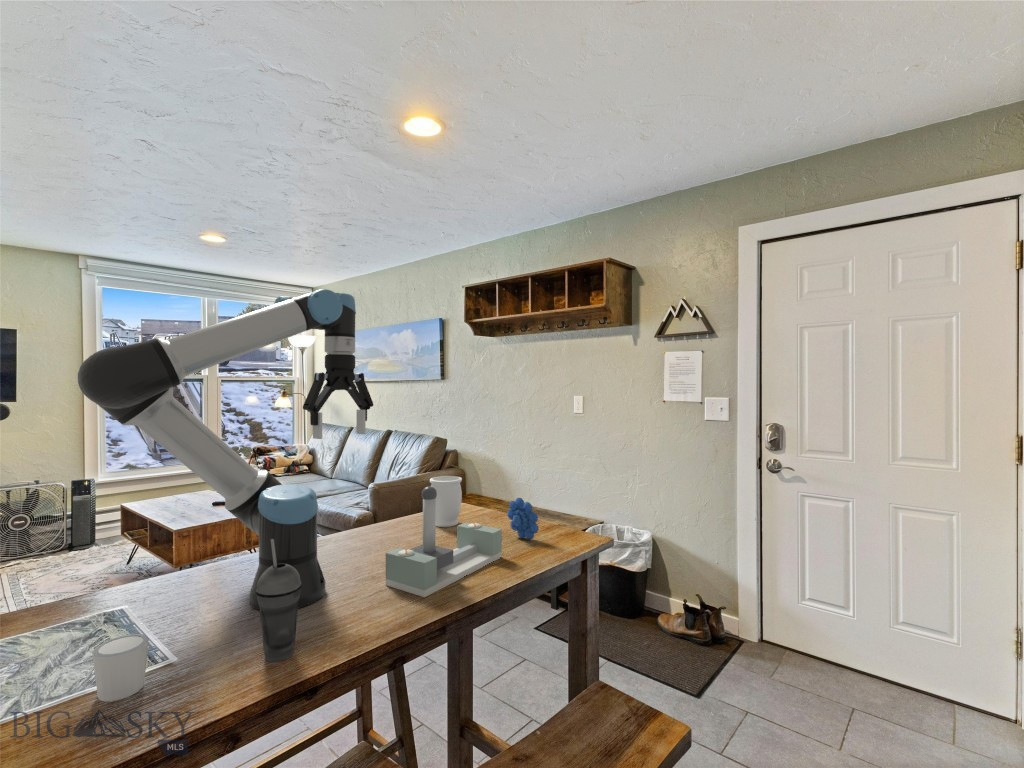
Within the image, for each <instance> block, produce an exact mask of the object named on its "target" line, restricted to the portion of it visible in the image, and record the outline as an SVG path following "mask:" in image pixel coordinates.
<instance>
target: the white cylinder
mask: <svg viewBox="0 0 1024 768" xmlns="http://www.w3.org/2000/svg"><path fill="white" fill-rule="evenodd" d="M149 640H150V638H149V637H148V635H146V634H142V633H141V634H140V633H137V634H135V633H133V634H126V635H121V636H118V637H115V638H111V639H108V640H106V641H104V642H102V643H100V644H99V645H97V646H96V647H95V648H94V649H93V651H92V661H93V669H94V677H95V684H96V692H97V698H98V700H99V701H102V702H116V701H121V700H123V699H126V698H129V697H131V696H133V695H134V694H137V693H139V691H140V690H142V689H143V687H144V685H145V680H146V679H145V678H146V669H147V663H148V662H147V660H148V651H149V643H150V641H149Z"/></svg>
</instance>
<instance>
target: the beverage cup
mask: <svg viewBox="0 0 1024 768" xmlns="http://www.w3.org/2000/svg"><path fill="white" fill-rule="evenodd" d="M271 547H272V555H273V564H274V565H273V566H271V567H269V568H268V569H266V570H265V571H264V572H263V574H262V575H261V577H260V578H259V581H258V584H257V589H256V595H257V600H258V605H259V607H260V610H259V618H260V624H261V625H260V626H261V627H260V628H261V635H262V647H263V654H264V659H265V661H267V662H269V663H279V662H282V661H285V660H288V659H290V658H291V656H293V655H294V649H295V644H296V643H295V642H296V635H297V634H296V631H297V622H298V611H299V608H298V600H299V597H300V592H301V587H302V584H301V580H300V575H299V573H298V572H297V570H296V569H295V568H294V567H292V566H291V565H288V564H284V563H280V564H277V562H276V553H275V545H274V539H271Z"/></svg>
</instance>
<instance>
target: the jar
mask: <svg viewBox="0 0 1024 768" xmlns="http://www.w3.org/2000/svg"><path fill="white" fill-rule="evenodd" d="M462 480H463V478H462V477H460V476H454V475H440V476H433V477H431V478H430V479H429V483H430V486H431V487H434V488H435V489H436V491H437V496H436V527H439V528H440V527H441V528H450V527H453V526H458V525H459V523H460V522H459V520H458V518H459V516H460V512H461V507H462V506H461V505H462V500H463V491H462V486H461V483H462Z"/></svg>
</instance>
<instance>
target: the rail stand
mask: <svg viewBox="0 0 1024 768" xmlns="http://www.w3.org/2000/svg"><path fill="white" fill-rule="evenodd" d="M502 534H503V531H502V529H501V528H496V527H491V526H486V525H482V524H481V523H477V522H473V523H472V522H464V523H461V524H457V525H456V548H453V549H452V550H453V563H452V564H449V565H447V566H445V567H443V568H441V569H439V570H437V558H436V557H432V556H428V555H424V554H420V553H416V552H414V551H413V550H410V549H404V548H400V547H398V548H395V549H392V550H390V551H387V552H385V586H387V587H390V588H393V589H397V590H399V591H402V592H406V593H409V594H412V595H416V596H419V597H422V598H426V597H428V596H430V595H431V594H434V593H435V592H437V591H440V590H441V589H443V588H445V587H447V586H450V585H451V584H453V583H455V582H456V581H459V580H461V579H463V578H464V576H465V577H466V575H467V576H468V575H470V574H472V573H474V572H476V571H478V570H480V569H482V568H484V567H486V566H488V565H490V564H492V563H493V561H494V562H496V561H497V560H499V559H501V558H502V554H503V553H502V552H503V551H502V548H503V547H502V546H503V545H502V543H503V542H502V541H503V539H502V537H503V535H502ZM500 557H501V558H500ZM491 562H492V563H491ZM489 563H490V564H489ZM487 564H488V565H487ZM485 565H486V566H485ZM483 566H484V567H483Z"/></svg>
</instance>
